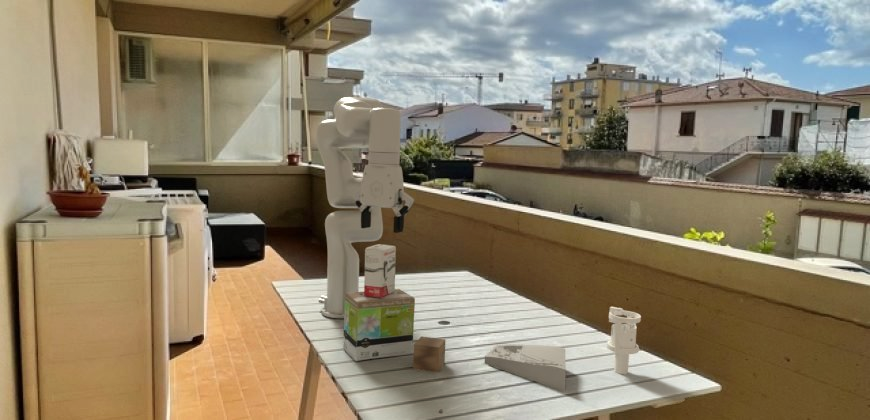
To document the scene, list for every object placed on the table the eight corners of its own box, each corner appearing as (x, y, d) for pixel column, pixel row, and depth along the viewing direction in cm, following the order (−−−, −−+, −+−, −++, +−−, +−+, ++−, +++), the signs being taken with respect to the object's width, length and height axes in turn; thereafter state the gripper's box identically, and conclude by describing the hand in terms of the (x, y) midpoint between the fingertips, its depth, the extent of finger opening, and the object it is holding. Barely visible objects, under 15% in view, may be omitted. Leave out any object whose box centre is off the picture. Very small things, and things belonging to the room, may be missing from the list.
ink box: (381, 298, 133) (382, 250, 132) (363, 296, 134) (364, 248, 133) (395, 291, 141) (396, 245, 140) (378, 289, 143) (379, 243, 141)
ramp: (468, 355, 140) (469, 334, 140) (519, 347, 147) (520, 327, 147) (538, 399, 115) (539, 374, 115) (595, 387, 123) (596, 363, 122)
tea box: (356, 363, 131) (357, 301, 130) (342, 349, 140) (343, 291, 138) (413, 354, 138) (415, 296, 136) (397, 342, 147) (399, 287, 145)
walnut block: (413, 369, 128) (413, 344, 128) (420, 360, 134) (421, 336, 134) (438, 373, 127) (439, 347, 126) (444, 363, 133) (445, 339, 132)
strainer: (612, 363, 136) (616, 303, 135) (641, 371, 132) (645, 309, 130) (600, 371, 131) (604, 309, 129) (630, 380, 126) (634, 315, 125)
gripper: (345, 158, 135) (344, 227, 137) (405, 162, 127) (402, 236, 129) (364, 158, 142) (362, 224, 144) (422, 161, 133) (419, 232, 135)
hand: (381, 229), depth 136 cm, fingers open, 9 cm apart
